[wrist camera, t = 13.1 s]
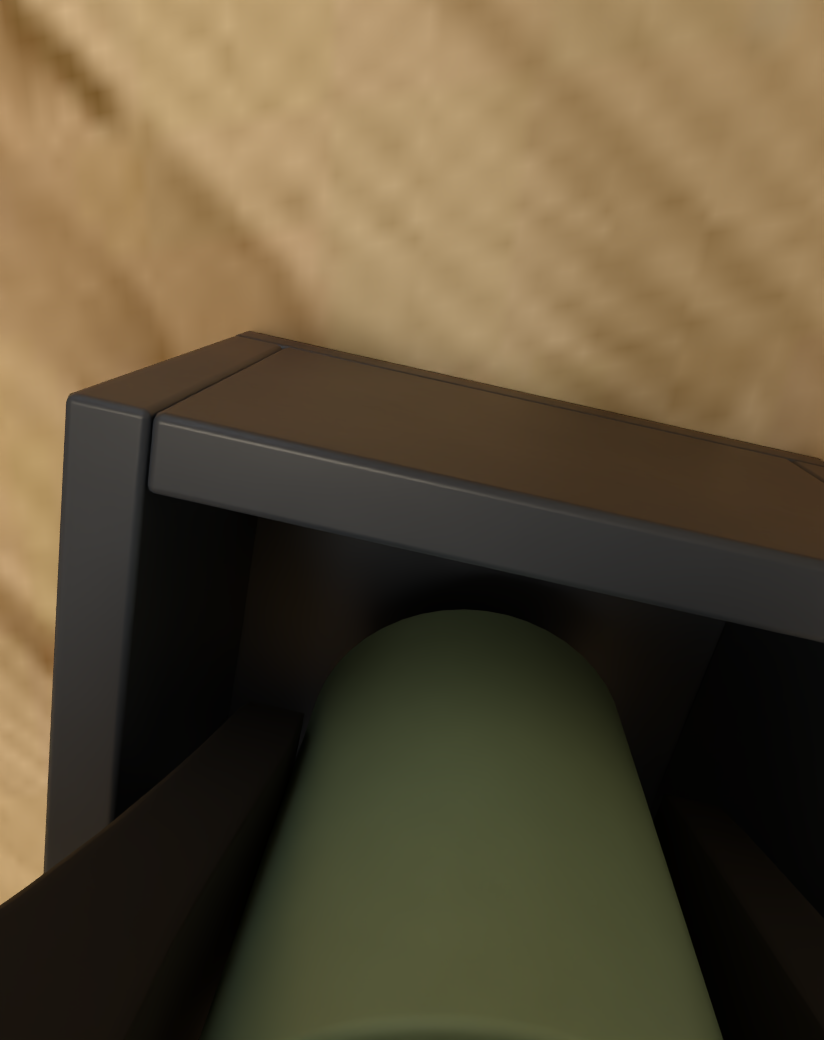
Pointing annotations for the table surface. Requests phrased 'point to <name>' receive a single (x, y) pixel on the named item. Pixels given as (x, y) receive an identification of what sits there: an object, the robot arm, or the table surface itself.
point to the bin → (427, 571)
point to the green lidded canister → (463, 858)
